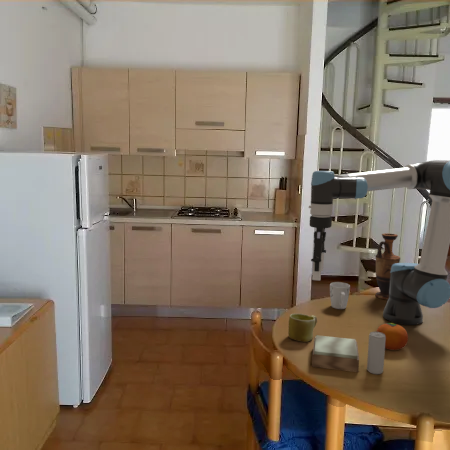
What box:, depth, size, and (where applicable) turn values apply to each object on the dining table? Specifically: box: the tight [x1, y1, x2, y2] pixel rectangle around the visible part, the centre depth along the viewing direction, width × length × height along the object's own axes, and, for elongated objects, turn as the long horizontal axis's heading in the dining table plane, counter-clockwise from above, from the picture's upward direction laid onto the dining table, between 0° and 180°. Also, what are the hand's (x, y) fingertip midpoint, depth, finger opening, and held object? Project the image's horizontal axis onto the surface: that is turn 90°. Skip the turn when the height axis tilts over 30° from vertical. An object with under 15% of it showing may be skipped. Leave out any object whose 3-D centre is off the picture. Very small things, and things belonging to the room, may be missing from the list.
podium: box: [311, 334, 360, 373], centre depth 146 cm, size 14×14×5 cm
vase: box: [375, 232, 401, 300], centre depth 210 cm, size 11×11×30 cm
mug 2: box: [329, 281, 351, 310], centre depth 196 cm, size 11×8×10 cm
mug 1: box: [287, 313, 318, 343], centre depth 164 cm, size 12×10×10 cm
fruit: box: [376, 322, 409, 351], centre depth 156 cm, size 11×10×8 cm
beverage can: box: [366, 331, 386, 375], centre depth 138 cm, size 5×5×12 cm
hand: (317, 275), depth 160 cm, fingers open, 13 cm apart
